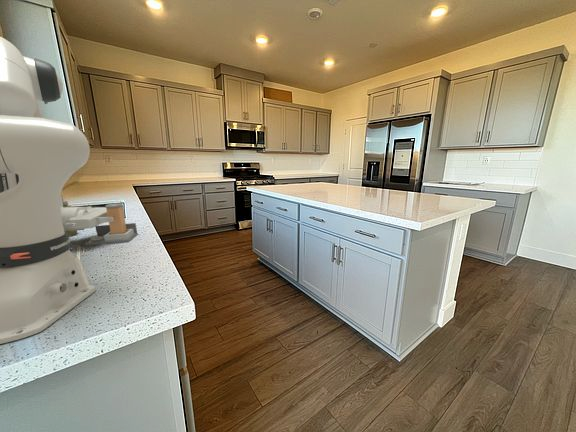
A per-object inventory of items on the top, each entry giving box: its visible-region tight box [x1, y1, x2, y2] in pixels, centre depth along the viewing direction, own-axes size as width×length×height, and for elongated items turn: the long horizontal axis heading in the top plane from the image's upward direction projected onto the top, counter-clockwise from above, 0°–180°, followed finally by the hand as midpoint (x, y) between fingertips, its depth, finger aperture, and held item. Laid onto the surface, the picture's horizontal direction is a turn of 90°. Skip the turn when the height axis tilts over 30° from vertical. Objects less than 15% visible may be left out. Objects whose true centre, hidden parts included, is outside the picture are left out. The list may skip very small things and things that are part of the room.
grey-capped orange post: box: [105, 202, 127, 234], centre depth 93 cm, size 5×5×13 cm
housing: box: [84, 222, 138, 247], centre depth 93 cm, size 10×14×5 cm
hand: (119, 216), depth 93 cm, fingers open, 8 cm apart
